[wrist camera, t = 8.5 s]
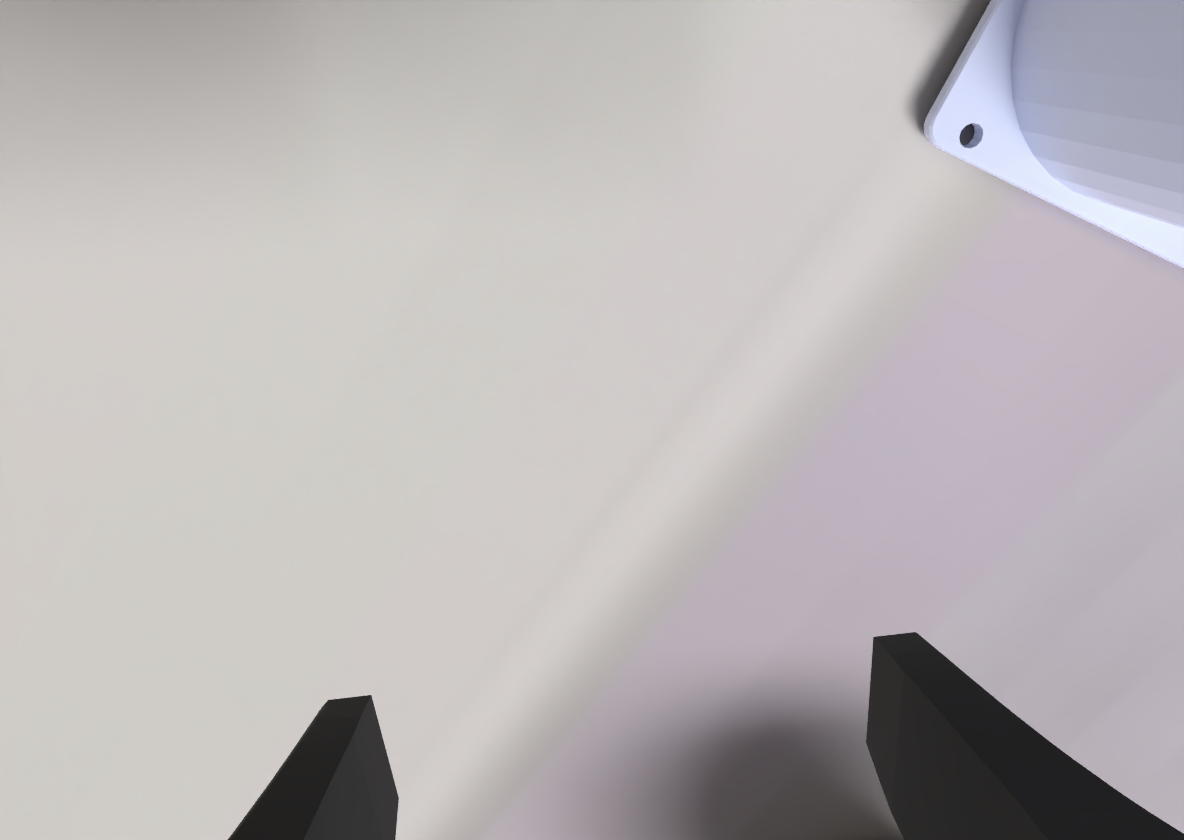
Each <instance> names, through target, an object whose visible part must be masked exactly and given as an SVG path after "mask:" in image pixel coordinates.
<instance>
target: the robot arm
mask: <svg viewBox="0 0 1184 840" xmlns="http://www.w3.org/2000/svg"><path fill="white" fill-rule="evenodd" d="M968 124H972V125H973V126H974V130H975V133H974V136H973V139H972V140H971V141H970V142H969V143H968V144H966V145H964V146H962V145H961V144H960V139H959V136H960V133H961V131H962V129H963V128H964V127H965V126H966V125H968ZM924 135H925V137H926V140H927V142H929V143H930V144H931V145H932V146H934V147H936V148H938V149H940V150H942V151H944V152H946V153H948V154H950V155H952V156H954V157H956V158H958V159H960V160H962V161H964V162H966V163H968V164H970V165H972V166H974V167H977V168H979V169H981V170H983V171H985V172H987V173H989V174H991V175H993V176H995V177H997V178H999V179H1001V180H1003V181H1005V182H1007V183H1009V184H1011V185H1013V186H1015V187H1017V188H1019V189H1021V190H1024V191H1026V192H1028V193H1030V194H1032V195H1034V196H1036V197H1038V198H1040V199H1042V200H1044V201H1046V202H1048V203H1050V204H1052V205H1054V206H1056V207H1058V208H1060V209H1062V210H1064V211H1066V212H1069V213H1071V214H1073V215H1075V216H1077V217H1079V218H1081V219H1083V220H1085V221H1087V222H1089V223H1091V224H1093V225H1095V226H1097V227H1099V228H1101V229H1103V230H1105V231H1107V232H1109V233H1111V234H1113V235H1116V236H1118V237H1120V238H1122V239H1124V240H1126V241H1128V242H1130V243H1132V244H1134V245H1136V246H1138V247H1140V248H1142V249H1144V250H1146V251H1148V252H1150V253H1152V254H1154V255H1156V256H1158V257H1160V258H1163V259H1165V260H1167V261H1169V262H1171V263H1173V264H1175V265H1177V266H1179V267H1181V268H1183V269H1184V0H991V1H990V3H989V5H988V7H987V8H986V10H985V12H984V14H983V16H982V17H981V19H980V21H979V23H978V25H977V26H976V28H975V30H974V32H973V34H972V35H971V37H970V39H969V41H968V43H967V44H966V46H965V48H964V50H963V52H962V53H961V55H960V57H959V59H958V61H957V62H956V64H955V66H954V68H953V70H952V71H951V73H950V75H949V77H948V79H947V80H946V82H945V84H944V86H943V88H942V89H941V91H940V93H939V95H938V97H937V98H936V100H935V102H934V104H933V106H932V107H931V109H930V111H929V113H928V115H927V117H926V120H925V122H924ZM866 743H867V746H868V749H869V752H870V755H871V757H872V760H873V763H874V766H875V769H876V772H877V775H878V778H879V780H880V783H881V786H882V789H883V791H884V794H885V797H886V799H887V802H888V805H889V807H890V810H891V813H892V815H893V817H894V819H895V821H896V823H897V825H898V827H899V829H900V831H901V833H902V835H903V837H904V839H905V840H1184V834H1183V833H1181V832H1180V831H1178V830H1177V829H1175V828H1173V827H1172V826H1170V825H1169V824H1167V823H1166V822H1164V821H1162V820H1161V819H1159V818H1158V817H1156V816H1154V815H1153V814H1151V813H1150V812H1148V811H1147V810H1145V809H1144V808H1142V807H1141V806H1139V805H1138V804H1136V803H1135V802H1133V801H1132V800H1130V799H1129V798H1127V797H1126V796H1124V795H1123V794H1121V793H1120V792H1118V791H1117V790H1115V789H1114V788H1113V787H1111V786H1110V785H1108V784H1107V783H1106V782H1104V781H1103V780H1101V779H1100V778H1099V777H1097V776H1096V775H1094V774H1093V773H1092V772H1090V771H1089V770H1087V769H1086V768H1085V767H1083V766H1082V765H1080V764H1079V763H1078V762H1076V761H1075V760H1073V759H1072V758H1071V757H1069V756H1068V755H1067V754H1065V753H1064V752H1063V751H1061V750H1060V749H1059V748H1057V747H1056V746H1055V745H1053V744H1052V743H1051V742H1049V741H1048V740H1047V739H1046V738H1044V737H1043V736H1042V735H1040V734H1039V733H1038V732H1037V731H1035V730H1034V729H1033V728H1032V727H1030V726H1029V725H1028V724H1026V723H1025V722H1024V721H1023V720H1021V719H1020V718H1019V717H1017V716H1016V715H1015V714H1014V713H1012V712H1011V711H1010V710H1009V709H1008V708H1006V707H1005V706H1004V705H1003V704H1001V703H1000V702H999V701H998V700H996V699H995V698H994V697H993V696H992V695H990V694H989V693H988V692H987V691H986V690H984V689H983V688H982V687H981V686H980V685H978V684H977V683H976V682H975V681H974V680H972V679H971V678H970V677H969V676H968V675H966V674H965V673H964V672H963V671H962V670H960V669H959V668H958V667H957V666H956V665H954V664H953V663H952V662H951V661H950V660H948V659H947V658H946V657H945V656H944V655H943V654H941V653H940V652H939V651H938V650H937V649H935V648H934V647H933V646H932V645H931V644H929V643H928V642H927V641H926V640H925V639H923V638H922V637H921V636H920V635H919V634H917V633H916V632H913V633H904V634H896V635H887V636H878V637H874V639H873V653H872V668H871V682H870V697H869V711H868V726H867V740H866ZM398 799H399V798H398V794H397V790H396V786H395V783H394V779H393V775H392V771H391V768H390V764H389V760H388V756H387V753H386V749H385V745H384V741H383V738H382V734H381V730H380V726H379V723H378V719H377V715H376V711H375V708H374V704H373V700H372V696H371V695H368V696H360V697H351V698H342V699H334V700H328V701H327V702H326V703H325V704H324V706H323V707H322V708H321V710H320V711H319V712H318V714H317V715H316V717H315V718H314V720H313V721H312V723H311V724H310V726H309V727H308V729H307V730H306V731H305V733H304V734H303V736H302V737H301V739H300V740H299V742H298V743H297V745H296V746H295V748H294V749H293V750H292V752H291V753H290V755H289V756H288V758H287V759H286V761H285V762H284V763H283V765H282V766H281V768H280V769H279V771H278V772H277V773H276V775H275V776H274V778H273V779H272V781H271V782H270V783H269V785H268V786H267V788H266V789H265V790H264V792H263V793H262V794H261V796H260V797H259V798H258V800H257V801H256V802H255V804H254V805H253V807H252V808H251V809H250V811H249V812H248V813H247V815H246V816H245V817H244V819H243V820H242V822H241V823H240V824H239V826H238V827H237V828H236V830H235V831H234V832H233V834H232V835H231V836H230V838H229V839H228V840H395V835H396V823H397V811H398Z"/></svg>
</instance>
